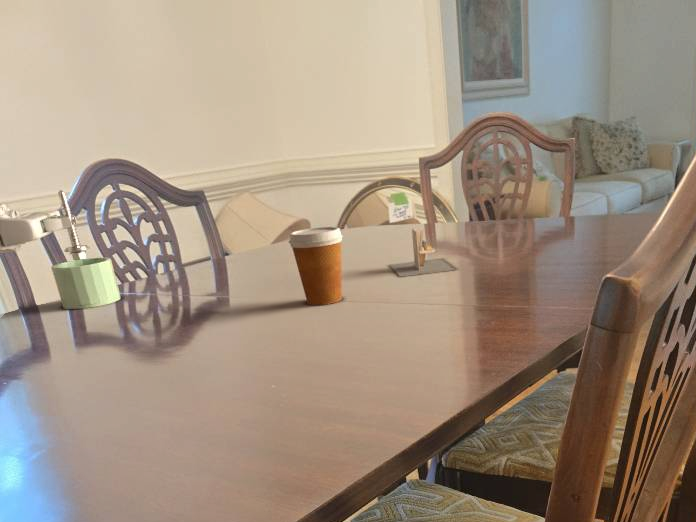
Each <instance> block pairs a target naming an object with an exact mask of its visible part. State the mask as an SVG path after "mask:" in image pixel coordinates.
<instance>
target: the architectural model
mask: <svg viewBox="0 0 696 522" xmlns="http://www.w3.org/2000/svg"><path fill="white" fill-rule="evenodd" d="M411 235H412V236H411V237H412V249H413V262H406V263H398V264H397V263H396V264H390V265H389V266H390V268H392V269H393V270H394V272H396V274H398V276H399V277H402V278H403V277H408V276H416V275H417V276H418V275H424V274H425V275H426V274H433V273H442V272H449V271H455V270H456V269H455V268H454V267H452V266H451V264H448V263H447V262H446V261H444V260H443V258H439V259H430V260H426V254H430V253H431V254H432V253H436V249H435V248H433V247H432V246H431V245H427V241H425V240H423V239H424V238H423V237H424V229H414V228H411Z"/></svg>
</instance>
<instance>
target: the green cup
mask: <svg viewBox="0 0 696 522" xmlns="http://www.w3.org/2000/svg"><path fill="white" fill-rule="evenodd" d="M50 268H51V271H52V275H53V278H54V282H55V285H56V289H57V292H58V294H59V298H60V301H61V304H62V307H63V309H66V310H82V309H89V308H96V307H101V306H106V305H109V304H113V303H115V302H118V301H120V300H121V298H122V297H121V292H120V289H119V284H118V281H117V277H116V273H115V269H114V265H113V262H112V259H111V258H110V257H107V256H106V257H92V258H90V257H89V258H86V259H82V260H70V261H69V260H68V261H64V262H61V263H57V264H54V265H52V266H50Z"/></svg>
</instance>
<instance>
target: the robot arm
mask: <svg viewBox="0 0 696 522" xmlns="http://www.w3.org/2000/svg"><path fill="white" fill-rule="evenodd" d="M72 216H73V217H72V218H73V219H74V220H73V222H75V223H74V225H75V226H76V225H77V224H78V220H77V217H76V216H75V215H73V214H72ZM73 222H72V219H71V218H70V217H65V218H64V216H63V215H61V213H60V211H59V210H57V209H52V210H43V211H35V212H27V213H22V214H20V213H19V211H17V210H16V209H11V208H10V207H9V206H8V205H7V204H5V203H1V204H0V254H7V253H8V254H9V253H15V252H16V253H17V252H19V251H20V250H21V245H25V244H26V243H30V242H34V241H36V240H39V239H42V238H44V237H46V236H48V235H50V234H52V233H55V232H57V231H59V230H62V229H66V228H69V227H72V226H73Z"/></svg>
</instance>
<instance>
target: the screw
mask: <svg viewBox="0 0 696 522" xmlns="http://www.w3.org/2000/svg"><path fill="white" fill-rule="evenodd" d="M57 193H58V198H59V201H60V207H61V209H60V211H62V212H61V214H62V216H64V218H65V217H70V218H71V219H72V222H73V220H74V219H73V218H72V217H73V216H74V215H73V212H72V209H71V206H70V205H69V204H70V203H69V202H68V200H67V197H66V193H65V191H63V190H62V189H60V190H58V192H57ZM72 215H73V216H72ZM74 223H75V222H73V226H72V227H69V228H65V229H66V230H67V231H66V232H67V233H68V234H67V235H68V239H69V242H70V245H71V246H67V247H65V249H64V252H65V253H69V255H71V257H72V261H75V260H82V259H87V256H86V253H87V250H90V246H88V245H87V244H81V243H80V242H81V241H80V240H79V239H80V237H78V236H79V234H78V231H77V228H76V225H74Z"/></svg>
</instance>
